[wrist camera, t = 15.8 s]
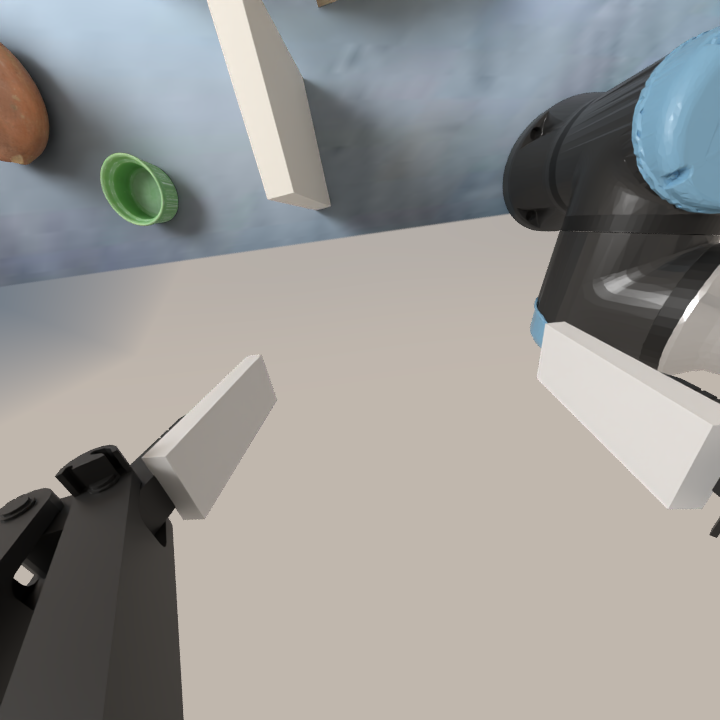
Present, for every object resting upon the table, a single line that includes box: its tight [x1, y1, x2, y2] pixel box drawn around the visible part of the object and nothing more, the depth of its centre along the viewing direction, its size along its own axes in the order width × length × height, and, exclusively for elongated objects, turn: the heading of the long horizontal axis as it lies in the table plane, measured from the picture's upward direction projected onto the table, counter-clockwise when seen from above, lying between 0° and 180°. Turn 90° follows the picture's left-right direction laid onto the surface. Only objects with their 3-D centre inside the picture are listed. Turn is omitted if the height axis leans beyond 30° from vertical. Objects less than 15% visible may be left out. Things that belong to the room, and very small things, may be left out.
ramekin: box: [100, 153, 178, 226], centre depth 41 cm, size 9×9×4 cm
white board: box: [207, 0, 331, 210], centre depth 30 cm, size 2×15×20 cm, turn 12°
